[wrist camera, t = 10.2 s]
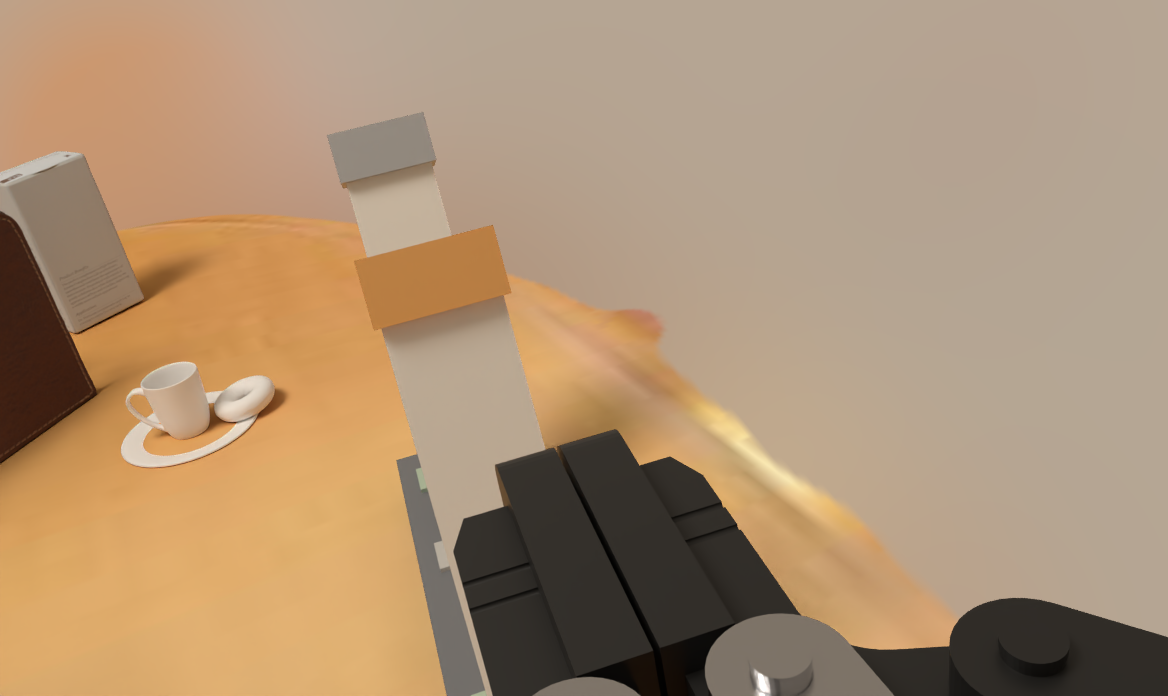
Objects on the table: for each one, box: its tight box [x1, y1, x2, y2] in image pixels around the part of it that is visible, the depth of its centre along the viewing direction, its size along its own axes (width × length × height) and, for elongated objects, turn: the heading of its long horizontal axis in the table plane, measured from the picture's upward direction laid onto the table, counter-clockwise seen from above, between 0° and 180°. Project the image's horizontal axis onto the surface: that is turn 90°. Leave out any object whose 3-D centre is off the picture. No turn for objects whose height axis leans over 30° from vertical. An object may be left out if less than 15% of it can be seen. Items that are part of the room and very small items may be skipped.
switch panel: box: [396, 454, 487, 696], centre depth 40 cm, size 6×25×2 cm, turn 16°
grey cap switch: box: [327, 112, 452, 258], centre depth 44 cm, size 4×2×16 cm, turn 106°
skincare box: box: [0, 152, 144, 333], centre depth 76 cm, size 6×4×12 cm
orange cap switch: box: [354, 225, 545, 696], centre depth 31 cm, size 4×2×16 cm, turn 106°
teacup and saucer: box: [121, 362, 275, 468], centre depth 60 cm, size 9×8×4 cm
